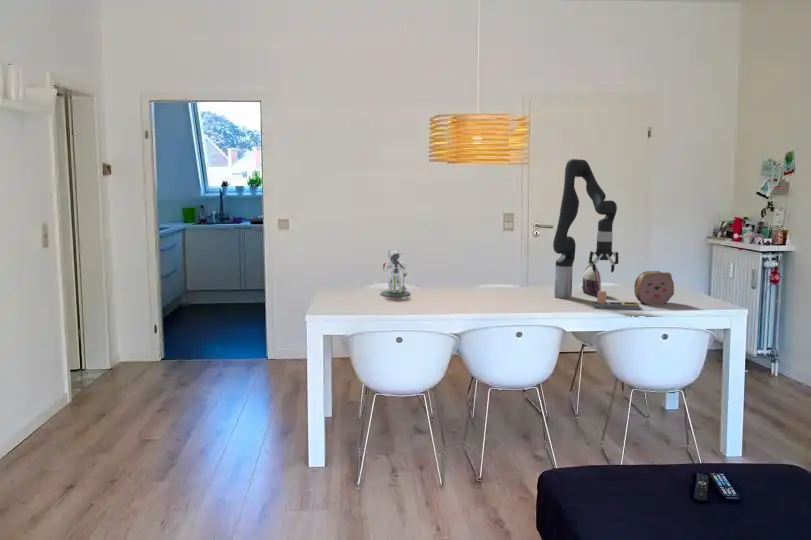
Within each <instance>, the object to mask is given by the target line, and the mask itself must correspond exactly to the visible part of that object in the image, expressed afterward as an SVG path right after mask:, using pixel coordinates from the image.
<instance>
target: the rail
mask: <svg viewBox="0 0 811 540" xmlns="http://www.w3.org/2000/svg"><path fill="white" fill-rule="evenodd" d="M592 307H593V308H594V309H610V310H611V309H612V310H640V304H639V303H638V302H637V301H620V302H619V301H606V304H597V300H596V301H592Z"/></svg>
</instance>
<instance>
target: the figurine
mask: <svg viewBox="0 0 811 540" xmlns="http://www.w3.org/2000/svg"><path fill="white" fill-rule="evenodd" d="M400 255H403V253H400V252H399V249H397V250H392V251H391V249H389V251H388V254H387V256H388V258H389V260H390V261H389V260H386V262H384V263H383V265H382V269H383V271H384V272H388V270H389V269H390V274H389V275H388V276H387V286H388V289H387V290H382V291H381V292H380V294H379V295H380V296H382V297H385V298H386V297H387V298H403V297H404V298H406V297H409V296H411V293H410V291H408V290H407V289H408V288H407V287H406V286H405V277H407V275H408V272H407V271H406V268H407V267H406V266H407V264H405V263H406V261H399V259H400ZM400 271H402V275H403V276H401V274H400ZM402 277H403V278H402ZM402 279H403V280H402Z"/></svg>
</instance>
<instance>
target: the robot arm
mask: <svg viewBox="0 0 811 540" xmlns="http://www.w3.org/2000/svg"><path fill="white" fill-rule="evenodd" d="M564 170H565V171H564V183H563V191H562V198H561V204H560V210H559V216H558V223H557V227H556V230H555V235H554V239H553V243H552V247H553V250H554V252H555V253H556V254H557V255H558V254H559V255H560V254H561V255H560V257H559V258H557V259H556V260H555V267H554V268H555V271H554V274H555V276H554V290H553V291H554V294H553V295H554V298H560V299H561V298H562V299H568V298H569V299H570V298H572V296H573V293H572V291H573V271H574V270H573V269H574V267H573V266H574V262H575V257H576V241H575V239H574V237H572V236H569V235H568V232H569V230H570V227H571V225H572V224H573V223H574V221H575V219H576V218H577V215H578V213H579V206H580V199H579V197H578V194H577V192H576V187H575V181H576V178H582V179H583V180H584V182H586V185H585V190H586V193H587V195H588V197H590V199H591V201H592V204H593V206H594V210H595V213H597V214H599V216H600V215H601V216H603V215H605V216H604V217H603V218H601V219H599V220H598V222H597V223H598V224H597V235H596V250H595V251H591V250H590V251H589V257H588V261H589V263H591V264H593V268H592V270H593V271H594V272H596V268H597V267H596V266H597V265H596V264H597V263H598V262H599V260H600V261H609V262H610V264H611V265H610V273H614V271H615V265H618V264H619V252H618V251H615V252H614V251H613V241H614V240H613V238H614V237H613V236H614V235H613V224H614V220H615V217H616V214H617V211H618V206H617V203H616V202H615V201H614V200H606V193H605V192H604V190H603V189H602V188H601V187H600V184H598V181H597V180H596V178H595V175H594V173H593V171H592V169H591V166H590V164H589V163H588V162H587V160H585V159H580V158H579V159H578V158H576V159H575V158H570V159H569V160H568V161H566V166H565V167H564ZM593 256H596V257H595V259H594V260H593ZM612 256H614V258H615V260H614V261H613V258H611V257H612Z"/></svg>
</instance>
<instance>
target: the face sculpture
mask: <svg viewBox="0 0 811 540" xmlns="http://www.w3.org/2000/svg"><path fill="white" fill-rule="evenodd" d="M674 286H675V283H674V280H673V277H672V273H671V272H667V271H666V272H664V271H663V272H662V271H659V270H646V271H643V272H641V273H640V274H639V275H637V277H636V279H635V282H634V296H635V298H636V299H637V301H638V302H640V303H641V304H645V305H661V304H662V305H664V304H666V303H668V302H669V301H670V299H671V298H672V297H673V296H674V294H675V287H674Z"/></svg>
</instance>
